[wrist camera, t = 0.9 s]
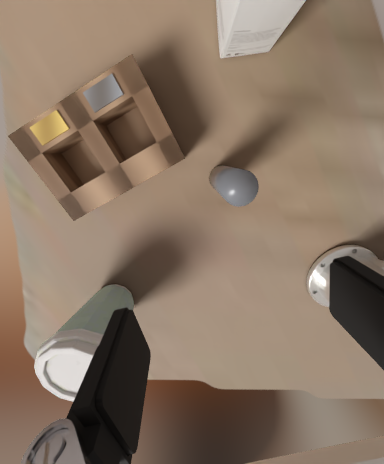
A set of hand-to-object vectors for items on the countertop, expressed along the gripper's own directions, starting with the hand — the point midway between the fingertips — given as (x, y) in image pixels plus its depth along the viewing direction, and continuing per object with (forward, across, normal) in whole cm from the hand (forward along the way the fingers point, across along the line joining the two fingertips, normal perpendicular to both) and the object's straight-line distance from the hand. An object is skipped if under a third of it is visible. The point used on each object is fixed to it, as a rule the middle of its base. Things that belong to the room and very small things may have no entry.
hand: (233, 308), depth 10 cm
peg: (+24, -4, -2) cm, 24 cm away
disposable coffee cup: (+24, +18, +14) cm, 33 cm away
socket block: (+24, +9, -10) cm, 27 cm away
